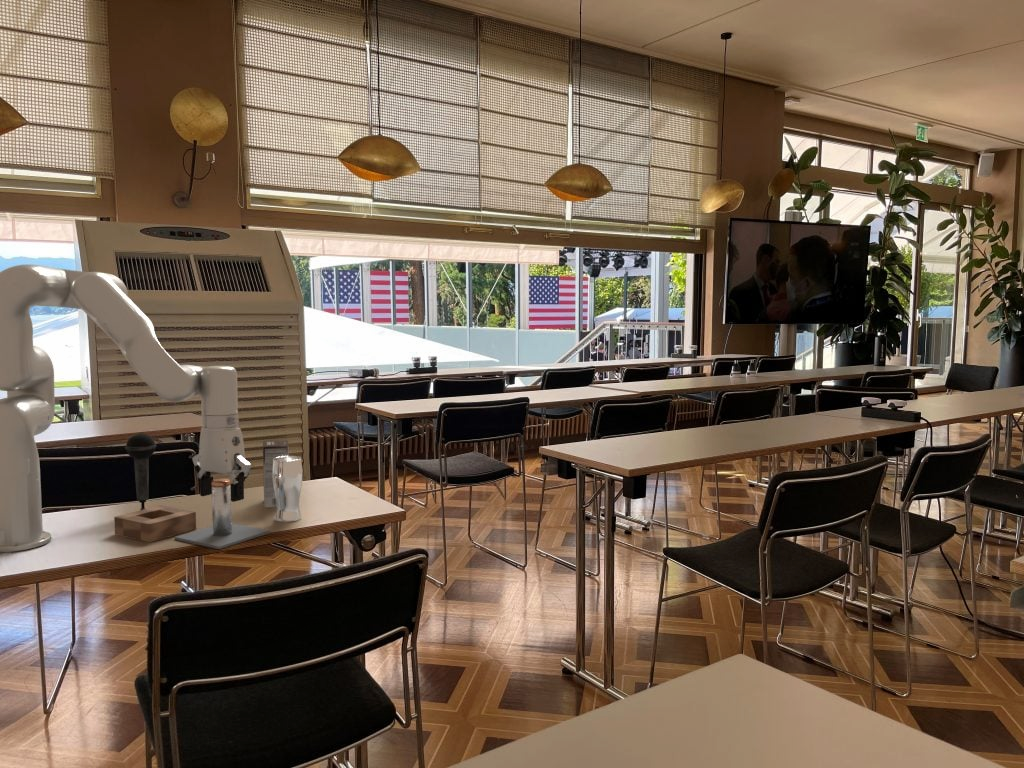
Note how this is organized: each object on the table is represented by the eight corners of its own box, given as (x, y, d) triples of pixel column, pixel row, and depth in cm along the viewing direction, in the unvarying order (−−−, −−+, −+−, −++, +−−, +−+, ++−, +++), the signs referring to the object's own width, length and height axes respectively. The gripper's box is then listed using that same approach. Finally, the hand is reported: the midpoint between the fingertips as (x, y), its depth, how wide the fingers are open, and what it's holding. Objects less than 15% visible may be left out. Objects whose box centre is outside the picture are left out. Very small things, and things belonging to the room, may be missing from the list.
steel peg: (236, 532, 170) (234, 480, 169) (221, 537, 166) (219, 483, 165) (223, 530, 172) (221, 478, 171) (209, 534, 168) (207, 481, 167)
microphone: (149, 516, 185) (147, 436, 183) (122, 516, 185) (119, 435, 183) (163, 509, 191) (160, 431, 190) (136, 509, 192) (133, 431, 190)
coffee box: (264, 499, 203) (262, 440, 201) (289, 498, 205) (288, 439, 203) (263, 508, 194) (262, 446, 193) (289, 506, 196) (288, 445, 195)
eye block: (149, 542, 164) (149, 524, 164) (114, 534, 170) (114, 516, 169) (196, 528, 175) (195, 511, 174) (161, 521, 180) (161, 505, 180)
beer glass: (271, 517, 185) (269, 456, 184) (299, 513, 189) (298, 454, 187) (276, 524, 179) (275, 462, 178) (305, 520, 183) (304, 459, 181)
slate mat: (219, 549, 160) (219, 546, 160) (175, 539, 166) (174, 536, 166) (269, 533, 172) (269, 530, 172) (226, 524, 179) (226, 521, 178)
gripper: (261, 422, 166) (262, 499, 168) (207, 417, 174) (209, 489, 176) (234, 427, 159) (236, 506, 161) (179, 420, 168) (181, 496, 169)
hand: (222, 497), depth 168 cm, fingers open, 9 cm apart
